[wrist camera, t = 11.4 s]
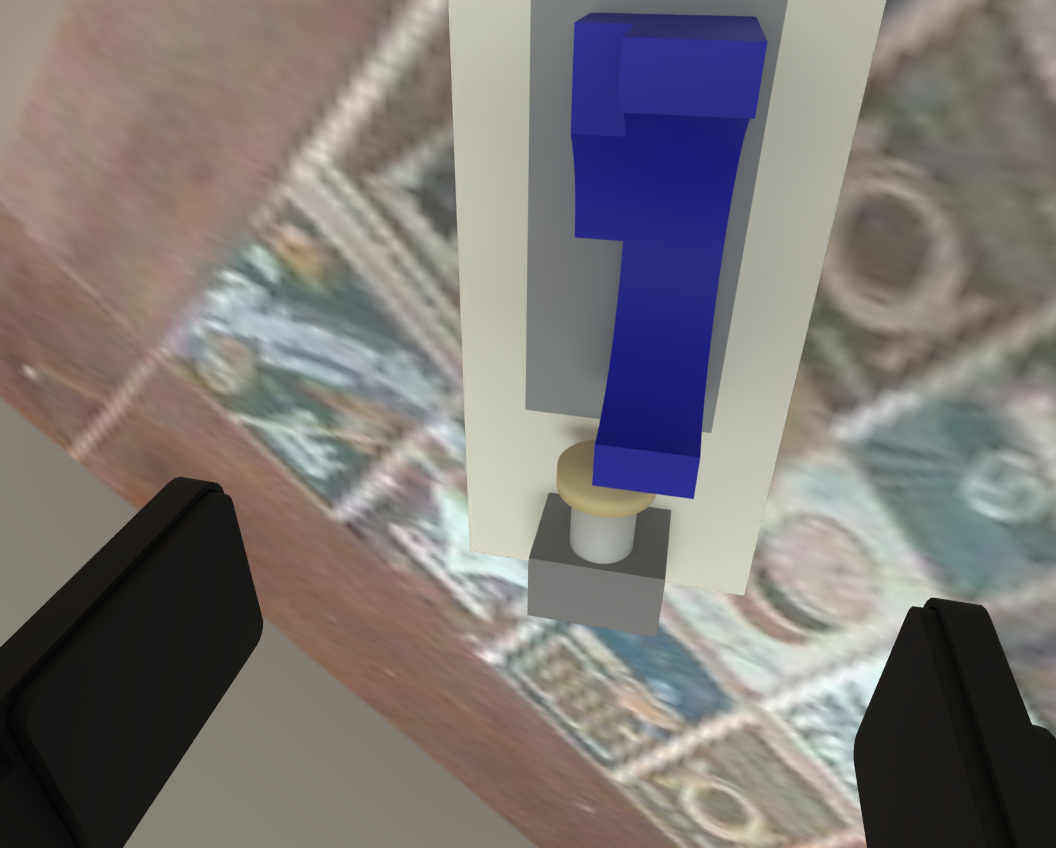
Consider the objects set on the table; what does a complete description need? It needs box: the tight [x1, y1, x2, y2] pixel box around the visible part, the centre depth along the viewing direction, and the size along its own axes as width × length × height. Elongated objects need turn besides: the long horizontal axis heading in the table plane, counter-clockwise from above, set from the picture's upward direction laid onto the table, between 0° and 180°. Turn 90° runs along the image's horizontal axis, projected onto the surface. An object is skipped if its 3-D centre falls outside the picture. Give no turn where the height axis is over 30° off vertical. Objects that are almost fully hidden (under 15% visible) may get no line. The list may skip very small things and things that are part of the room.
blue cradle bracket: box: [571, 13, 767, 499], centre depth 22 cm, size 12×4×6 cm, turn 0°
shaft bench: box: [448, 0, 886, 637], centre depth 23 cm, size 12×31×6 cm, turn 179°
